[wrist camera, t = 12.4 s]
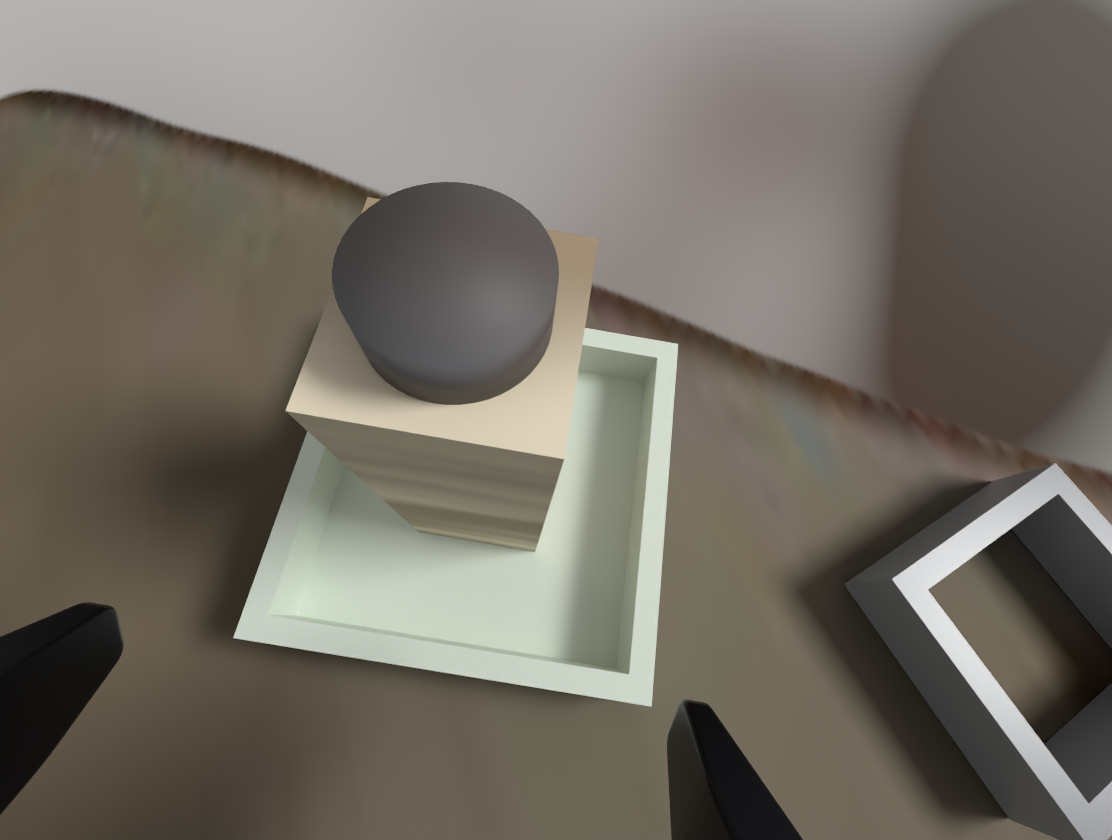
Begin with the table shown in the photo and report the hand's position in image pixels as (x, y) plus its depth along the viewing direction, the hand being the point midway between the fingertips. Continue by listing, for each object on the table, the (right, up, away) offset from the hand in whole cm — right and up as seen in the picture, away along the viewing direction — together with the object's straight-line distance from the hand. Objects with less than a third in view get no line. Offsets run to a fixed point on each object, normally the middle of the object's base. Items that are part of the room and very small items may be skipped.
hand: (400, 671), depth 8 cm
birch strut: (0, +2, +10) cm, 10 cm away
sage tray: (0, +1, +10) cm, 11 cm away
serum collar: (+18, -3, +10) cm, 21 cm away
